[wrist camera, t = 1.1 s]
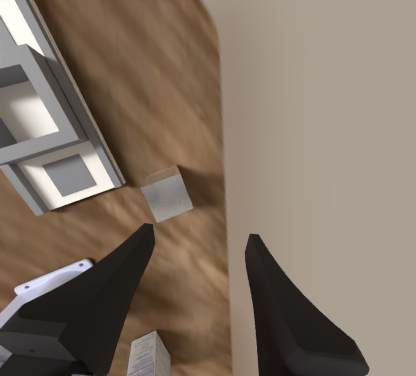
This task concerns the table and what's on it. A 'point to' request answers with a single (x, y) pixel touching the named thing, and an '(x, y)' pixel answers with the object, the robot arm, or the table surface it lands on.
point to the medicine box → (149, 357)
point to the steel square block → (166, 193)
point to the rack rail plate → (46, 118)
